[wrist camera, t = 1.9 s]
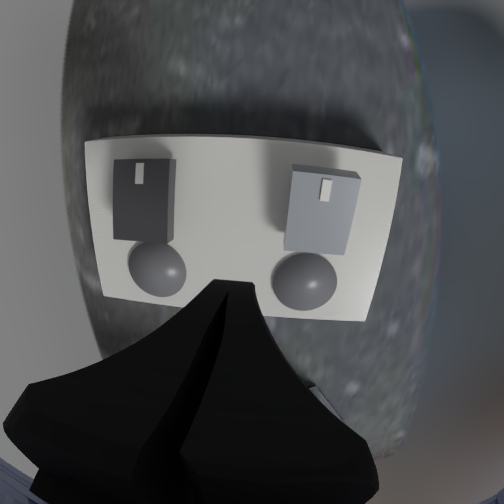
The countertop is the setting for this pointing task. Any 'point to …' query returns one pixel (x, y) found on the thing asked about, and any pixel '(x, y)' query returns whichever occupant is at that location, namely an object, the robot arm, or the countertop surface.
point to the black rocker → (144, 200)
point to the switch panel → (242, 223)
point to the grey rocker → (320, 209)
